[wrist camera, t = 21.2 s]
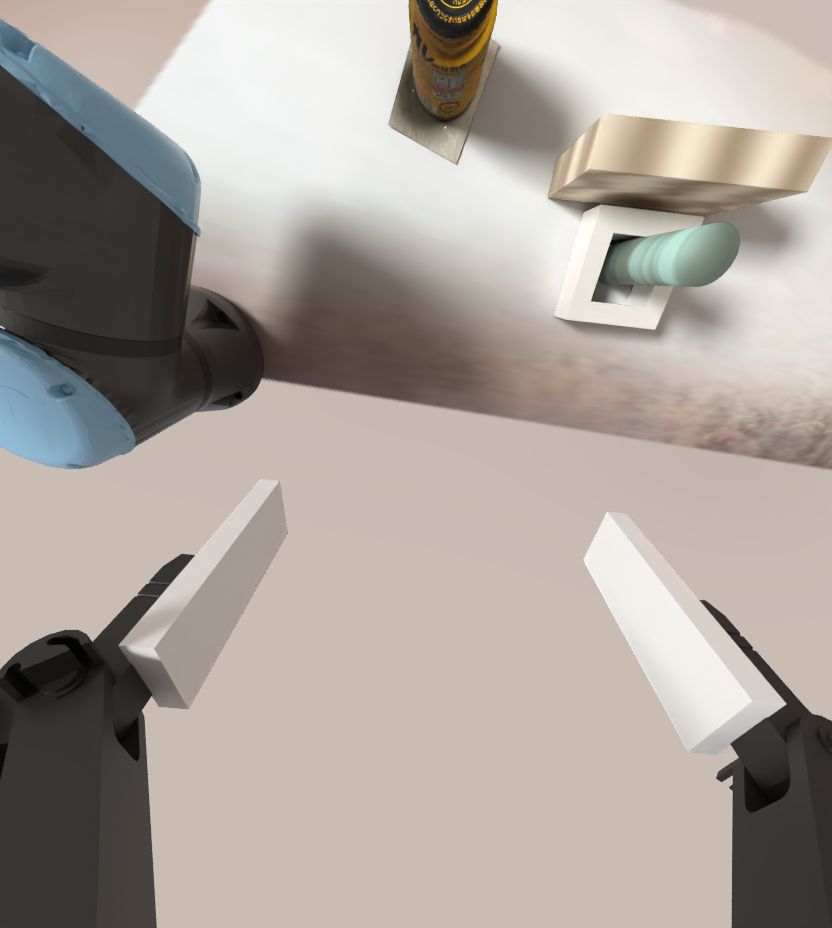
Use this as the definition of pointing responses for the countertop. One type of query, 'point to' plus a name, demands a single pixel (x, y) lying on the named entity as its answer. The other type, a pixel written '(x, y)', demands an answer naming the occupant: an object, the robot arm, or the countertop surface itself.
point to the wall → (685, 165)
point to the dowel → (673, 257)
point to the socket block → (590, 257)
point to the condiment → (444, 72)
